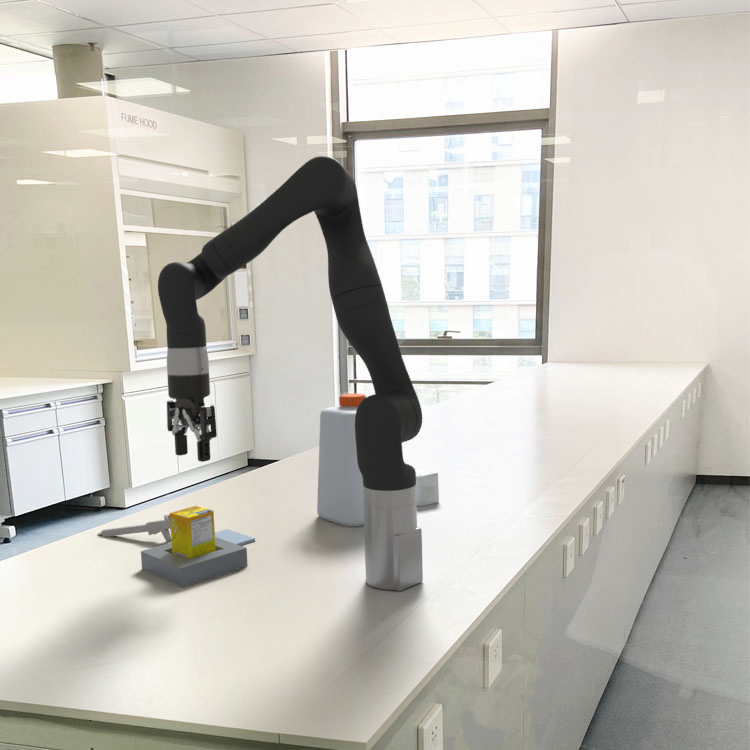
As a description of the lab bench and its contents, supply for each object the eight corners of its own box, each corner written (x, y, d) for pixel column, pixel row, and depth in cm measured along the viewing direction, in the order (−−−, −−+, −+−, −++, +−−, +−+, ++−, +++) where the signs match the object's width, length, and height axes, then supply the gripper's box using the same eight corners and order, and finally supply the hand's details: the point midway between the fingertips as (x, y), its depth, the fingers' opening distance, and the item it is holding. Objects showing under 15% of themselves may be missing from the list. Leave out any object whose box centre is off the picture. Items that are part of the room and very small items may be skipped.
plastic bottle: (351, 530, 163) (347, 401, 160) (309, 516, 174) (305, 395, 171) (403, 516, 173) (400, 394, 170) (360, 503, 184) (356, 389, 181)
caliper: (179, 543, 158) (177, 514, 158) (176, 544, 157) (174, 515, 157) (100, 535, 166) (98, 507, 165) (97, 536, 164) (95, 508, 164)
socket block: (247, 565, 143) (246, 547, 142) (182, 587, 133) (181, 568, 132) (205, 550, 152) (204, 533, 152) (141, 569, 142) (140, 551, 142)
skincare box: (439, 502, 183) (438, 472, 183) (419, 506, 180) (418, 476, 179) (424, 497, 188) (423, 468, 188) (404, 501, 185) (403, 472, 184)
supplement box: (197, 560, 147) (194, 505, 146) (217, 566, 143) (214, 509, 142) (171, 569, 142) (168, 512, 141) (191, 575, 138) (188, 517, 137)
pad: (255, 541, 157) (255, 538, 157) (214, 553, 150) (214, 550, 150) (227, 531, 164) (227, 529, 164) (186, 543, 157) (186, 540, 157)
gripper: (226, 372, 137) (230, 459, 139) (187, 368, 148) (191, 449, 150) (188, 375, 132) (193, 466, 134) (151, 371, 143) (156, 455, 145)
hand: (192, 457), depth 142 cm, fingers open, 8 cm apart
